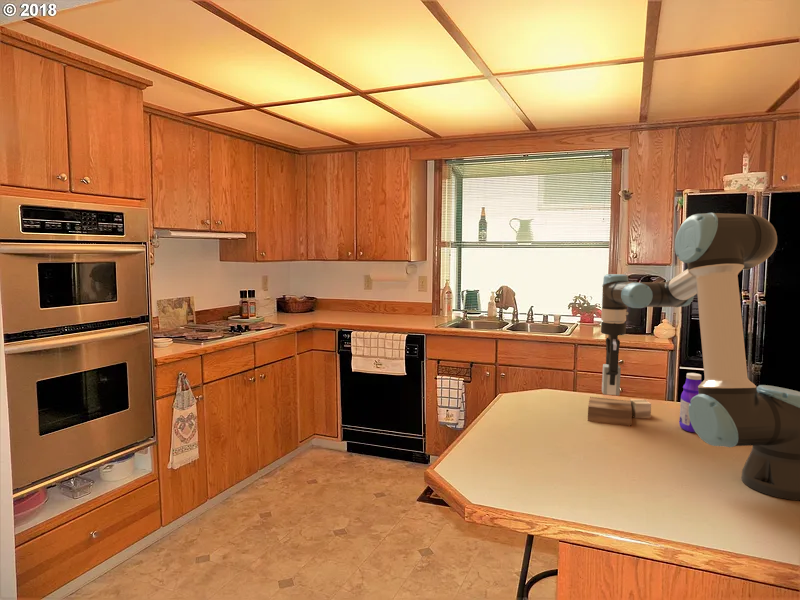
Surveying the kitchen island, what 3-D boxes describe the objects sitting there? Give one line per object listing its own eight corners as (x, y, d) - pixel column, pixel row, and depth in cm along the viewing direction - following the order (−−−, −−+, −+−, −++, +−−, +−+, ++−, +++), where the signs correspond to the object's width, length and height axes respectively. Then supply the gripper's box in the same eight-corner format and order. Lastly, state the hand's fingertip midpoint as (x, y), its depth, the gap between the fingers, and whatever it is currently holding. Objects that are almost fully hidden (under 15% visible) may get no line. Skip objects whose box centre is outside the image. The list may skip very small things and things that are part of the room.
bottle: (706, 433, 167) (709, 376, 165) (687, 433, 167) (690, 376, 166) (693, 426, 174) (697, 371, 173) (675, 425, 174) (678, 371, 173)
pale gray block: (619, 395, 179) (620, 368, 178) (603, 394, 180) (604, 367, 179) (617, 391, 184) (618, 364, 183) (601, 390, 185) (602, 364, 184)
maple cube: (650, 418, 182) (651, 403, 182) (635, 418, 182) (636, 403, 182) (643, 413, 187) (644, 399, 187) (629, 413, 187) (629, 399, 187)
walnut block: (631, 426, 174) (631, 411, 174) (587, 421, 179) (588, 406, 178) (630, 415, 186) (630, 400, 186) (589, 411, 191) (589, 396, 190)
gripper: (629, 326, 170) (626, 400, 172) (622, 318, 187) (619, 386, 189) (603, 324, 172) (600, 398, 174) (599, 318, 189) (596, 384, 191)
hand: (610, 392), depth 182 cm, fingers closed on pale gray block, 5 cm apart
